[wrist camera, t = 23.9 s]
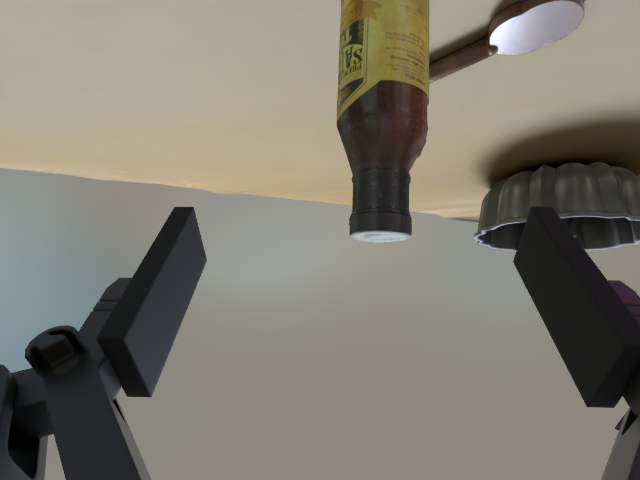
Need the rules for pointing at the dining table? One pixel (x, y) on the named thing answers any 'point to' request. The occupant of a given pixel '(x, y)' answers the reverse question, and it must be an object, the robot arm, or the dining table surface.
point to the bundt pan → (565, 205)
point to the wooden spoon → (516, 33)
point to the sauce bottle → (383, 109)
